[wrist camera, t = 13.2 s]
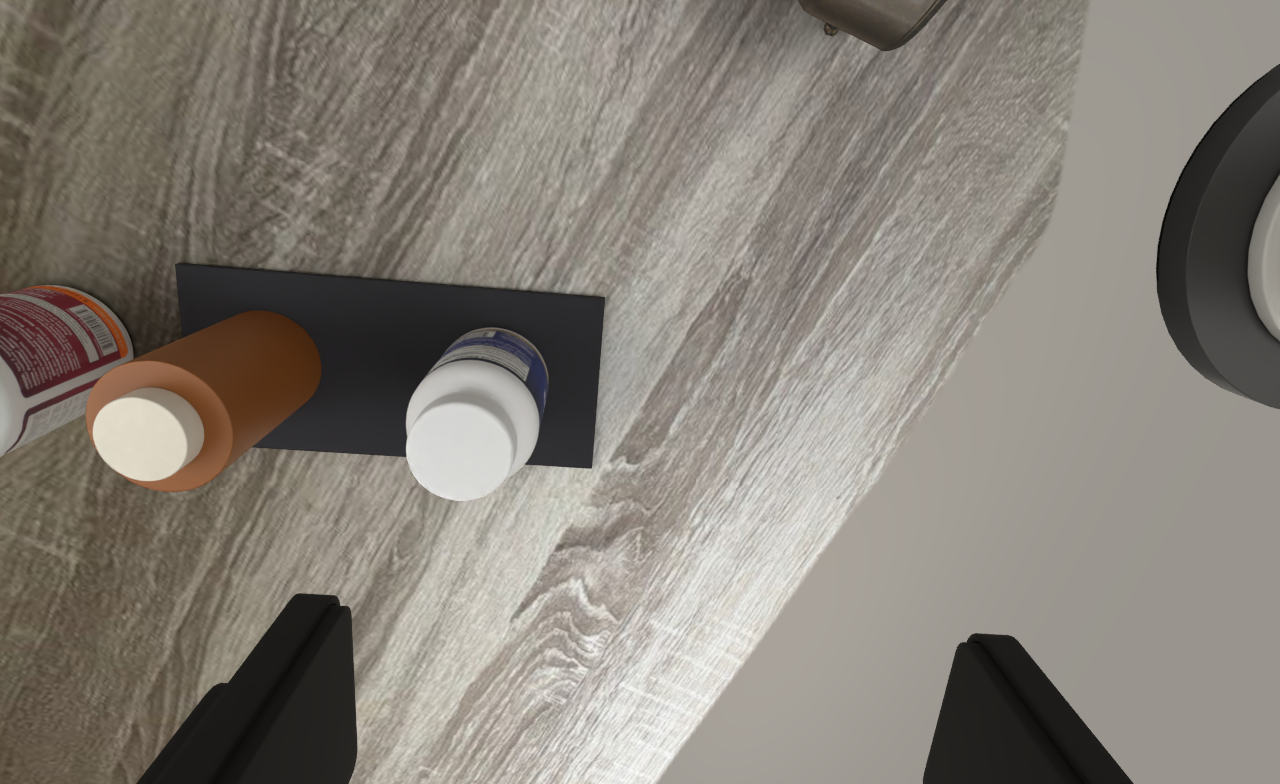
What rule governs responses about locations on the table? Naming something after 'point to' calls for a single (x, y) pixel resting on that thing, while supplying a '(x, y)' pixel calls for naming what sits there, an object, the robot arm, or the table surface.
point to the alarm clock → (874, 18)
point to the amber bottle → (201, 400)
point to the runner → (405, 351)
